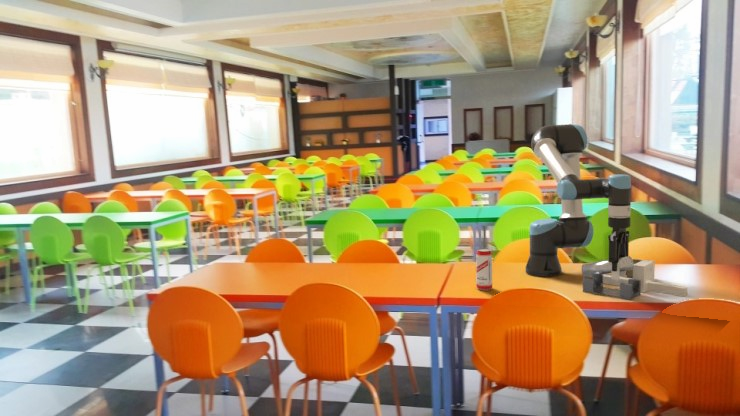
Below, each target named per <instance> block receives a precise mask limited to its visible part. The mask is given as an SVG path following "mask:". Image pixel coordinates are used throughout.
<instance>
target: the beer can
mask: <svg viewBox="0 0 740 416" xmlns="http://www.w3.org/2000/svg"><path fill="white" fill-rule="evenodd" d="M475 257H476V258H475V262H476V263H475V265H476V266H475V268H476V271H475V272H476V274H475V275H476V276H475V277H476V279H475V280H476V288H477V289H478V290H479V291H491V290H492V288H493V253H492V252H491V249H490V248H478V249H477V251H476V254H475Z"/></svg>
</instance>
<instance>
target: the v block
mask: <svg viewBox="0 0 740 416" xmlns="http://www.w3.org/2000/svg"><path fill="white" fill-rule="evenodd" d="M640 291H641V280H636V279H628V284H625V283H620V286H619V289H617V288H611V287H605V286H604V283H603V274H602V275H596V276H591V277H585V276H583V278H582V292H583V293H589V294H594V295H600V296H606V297H612V298H617V299H621V300H622V299H623V300H629V301H632V300H633V299H636V298H637V297H638V296H640V295H641V292H640Z"/></svg>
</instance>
